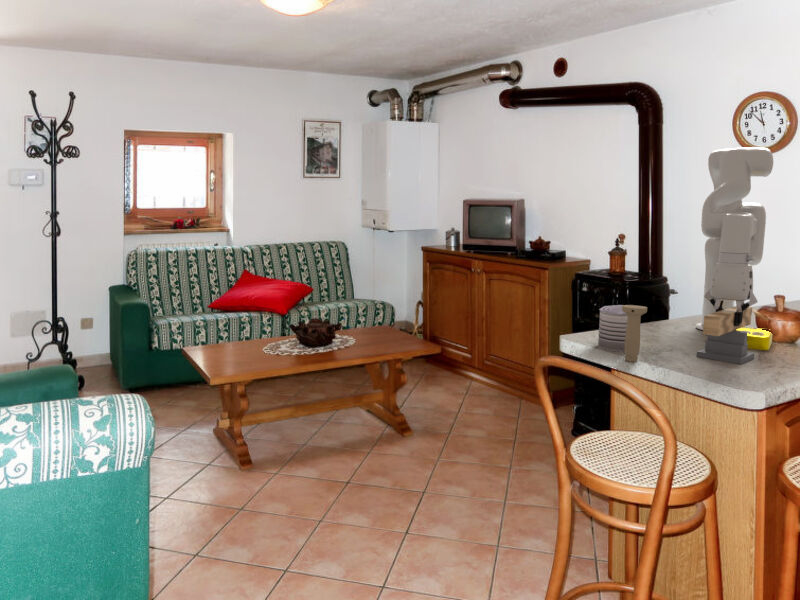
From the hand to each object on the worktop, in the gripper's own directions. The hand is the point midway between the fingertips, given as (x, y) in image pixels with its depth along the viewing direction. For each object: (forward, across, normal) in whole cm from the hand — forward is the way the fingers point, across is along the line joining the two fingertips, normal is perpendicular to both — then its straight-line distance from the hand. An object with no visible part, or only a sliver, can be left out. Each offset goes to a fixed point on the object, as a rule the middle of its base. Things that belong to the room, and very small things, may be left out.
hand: (728, 323), depth 199 cm
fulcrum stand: (+10, 0, 0) cm, 10 cm away
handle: (+10, +16, +24) cm, 31 cm away
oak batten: (+2, 0, 0) cm, 2 cm away
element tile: (+10, +4, -24) cm, 26 cm away
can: (+10, +27, +11) cm, 31 cm away
